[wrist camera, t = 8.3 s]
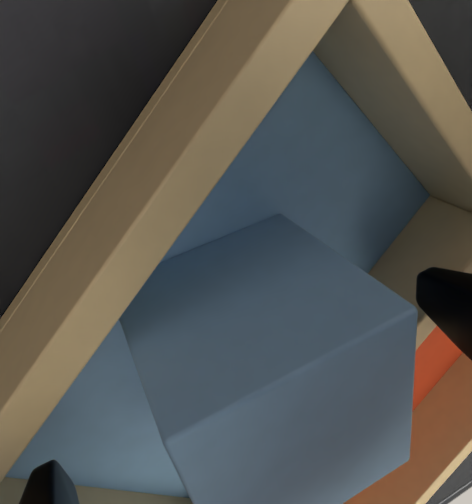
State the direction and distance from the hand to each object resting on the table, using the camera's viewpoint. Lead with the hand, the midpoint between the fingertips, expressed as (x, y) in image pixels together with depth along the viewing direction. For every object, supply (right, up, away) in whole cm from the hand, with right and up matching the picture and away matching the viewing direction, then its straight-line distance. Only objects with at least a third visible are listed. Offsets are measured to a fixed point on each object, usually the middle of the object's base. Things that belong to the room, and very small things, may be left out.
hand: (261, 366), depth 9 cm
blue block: (-1, +1, +2) cm, 2 cm away
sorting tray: (+2, -1, +5) cm, 5 cm away
